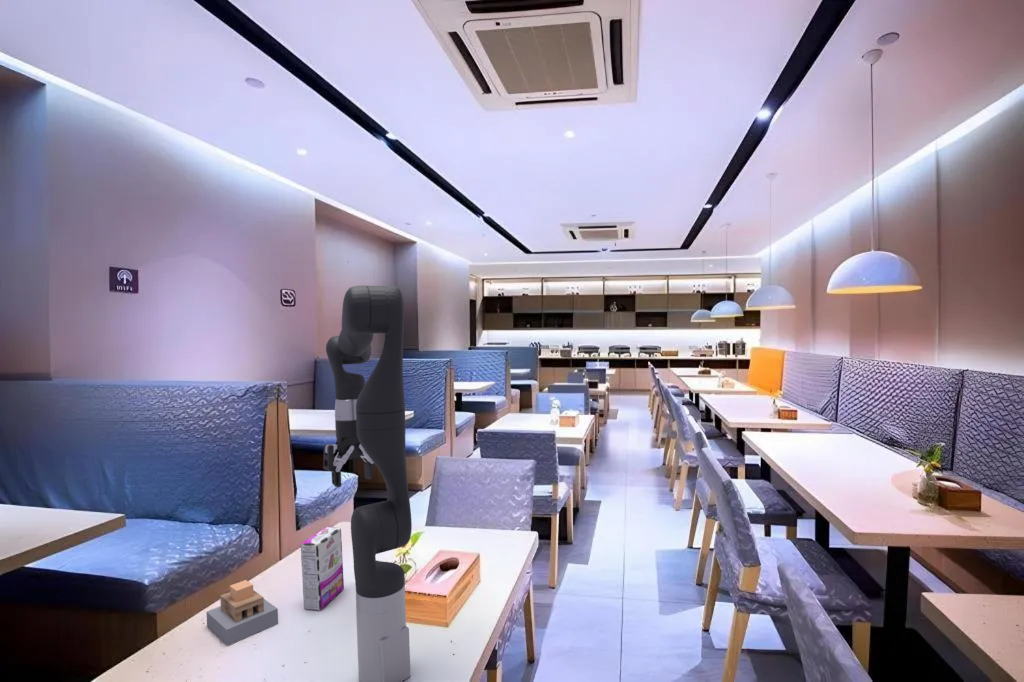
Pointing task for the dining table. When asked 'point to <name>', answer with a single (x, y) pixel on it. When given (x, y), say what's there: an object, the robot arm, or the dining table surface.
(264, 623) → the dock
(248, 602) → the pallet
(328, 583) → the candy bar box
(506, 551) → the dining table surface
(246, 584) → the block
